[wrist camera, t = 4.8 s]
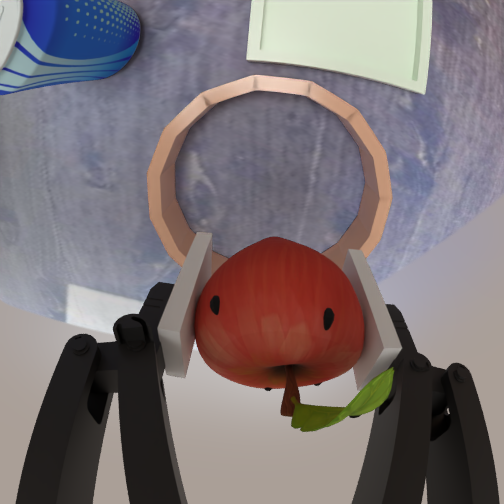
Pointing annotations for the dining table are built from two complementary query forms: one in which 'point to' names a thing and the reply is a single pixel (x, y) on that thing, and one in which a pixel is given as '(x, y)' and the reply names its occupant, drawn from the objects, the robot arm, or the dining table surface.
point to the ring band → (371, 151)
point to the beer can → (63, 41)
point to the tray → (346, 38)
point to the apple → (286, 328)
